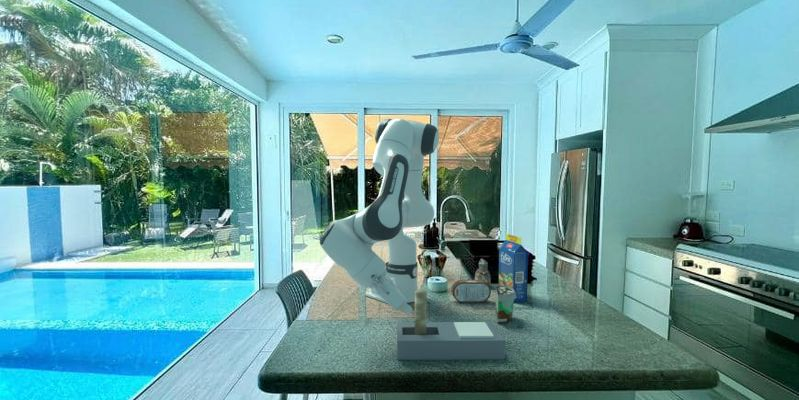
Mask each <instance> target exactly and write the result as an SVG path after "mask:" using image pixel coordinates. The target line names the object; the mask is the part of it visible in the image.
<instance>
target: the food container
mask: <svg viewBox="0 0 799 400" xmlns="http://www.w3.org/2000/svg"><path fill="white" fill-rule="evenodd" d="M515 298H516V294H515V291H514V289H513V288H511V287H508V286H504V285H499V284H495V317H496V322H497V325H504V324H505V323H506V324H509V322H510V323H511V322H512V321H513V312H514V305H515V304H514V303H515V302H514V299H515ZM506 324H505V325H506Z"/></svg>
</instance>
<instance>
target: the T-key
mask: <svg viewBox="0 0 799 400" xmlns="http://www.w3.org/2000/svg"><path fill="white" fill-rule="evenodd" d="M427 292H428V291H426V290H425V289H419V290H416V291H415V301H414V322H415V335H426V322H427V295H428V293H427Z"/></svg>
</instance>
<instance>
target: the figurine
mask: <svg viewBox="0 0 799 400" xmlns="http://www.w3.org/2000/svg"><path fill="white" fill-rule="evenodd" d="M488 265H489V263H488V261H487V260H485V259H484V258H480V260H479V261H478V268H477V269H476V271H475V274H474V280H483V281H485V282H486V283H487V284H488V285H489V287H490V288H491V284H492V283H491V273H490V271H489V270H488V268H489V267H488Z"/></svg>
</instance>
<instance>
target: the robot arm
mask: <svg viewBox="0 0 799 400" xmlns="http://www.w3.org/2000/svg"><path fill="white" fill-rule="evenodd" d="M374 141H375V144H376V147H375V149H374V152H373V157H372V166H373V168H374V170H375V171H376V172H377V173H378V174H379V175H381V176H383V178H382V181H381V186H380V190H379V193H378V196H377V197H376V199H374V201H372V203H371V204H370V205H368V206H366V207H364V208H363V209H361V210H360V211H357V212H355V213H354V214H352V215H350V216H349V215H348V216H347V217H345V218H340V219H334V220H332V221H331V222H330V223H329V224H328V225H327V226H326V228H324V230H323V232H322V234H321V236H320V238H319V244H320V247H321V249H322V250H323V251H324V252H325V254H327V256H328V257H329V258H330V259H331V260H332V262H334V263H335V264H336V265H337V266H338V267H340V268H342V269H344V270H345V271H346V273H347V275H348V276H349V277H350V278H351V279H352V280H354V282H356V284H357V285H359V286H360V287H361V288H362V289H363V290H364V289H367V288H369V289H368V290H366V291H365V294H364V296H365V297H368V298H371V299H374V300H377V301H380V302H382V303H386V304H388V306H390V307H391V308H392V309H393V310H395V311H398V310H400V309H401V310H402V311H403V312H404V313H406V315H410V314H411V313H412V312H413V308H412V307H411V305H409V304H408V303H413V302H414V303H415V291H416V290H420V289H419V285H418V284H419V283H418V274H419V273H418V271H419V270H418V269H419V268H418V266H419V265H418V264H419V263H418V261H417V256H418V255H417V247H418V246H417V242H416V241H415V240H414V238H411V236H407V235H405V234H404V228H420V227H424V226H428V225H430V224H431V223H432V222H433V220H434V218H435V217H434V216H435V209H434V206H433V204H432V203H430V201H428V199H427V198H426V197H425V195H424V193H423V188H422V184H423V183H422V181H423V171H424V163H425V162H424V159H425V157H427V156H430V155H432V154H434V153H435V151H436V149H437V147H438V146H439V145H438V144H439V142H440V136H439V130H438V128H437V126H435V125H433V124H430V123H423V122H419V121H416V120H406V119H403V118H395V119H392V118H384V119H381V120H380V121H379V122H378V123H377V125H376V128H375V131H374ZM383 241H387V247H388V249H387V250H388V261H387V262H385V260H383V259H382V258H381V257H380V256H379V255H377V253H376V252H375V251H373V249H372V247H373V245H374V244H377V243H379V242H383Z"/></svg>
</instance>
